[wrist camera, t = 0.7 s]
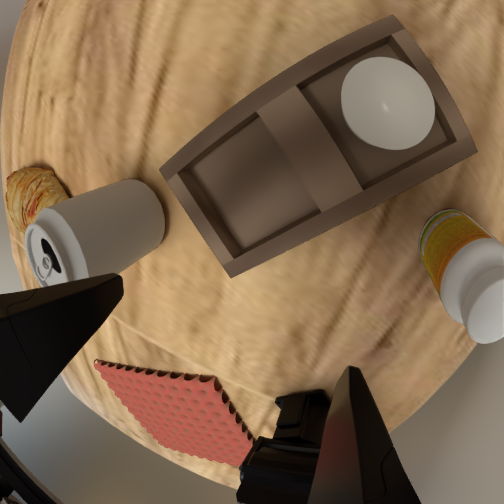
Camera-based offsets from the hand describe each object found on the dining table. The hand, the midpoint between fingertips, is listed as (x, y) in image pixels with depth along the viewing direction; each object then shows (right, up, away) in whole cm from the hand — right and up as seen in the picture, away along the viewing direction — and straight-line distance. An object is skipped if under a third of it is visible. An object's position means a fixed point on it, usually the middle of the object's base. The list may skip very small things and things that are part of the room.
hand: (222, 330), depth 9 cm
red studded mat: (-11, -27, +33) cm, 44 cm away
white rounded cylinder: (+9, +12, +5) cm, 16 cm away
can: (-10, +6, +16) cm, 20 cm away
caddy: (+5, +10, +9) cm, 15 cm away
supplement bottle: (+16, +4, +8) cm, 18 cm away
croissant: (-28, +10, +21) cm, 37 cm away
